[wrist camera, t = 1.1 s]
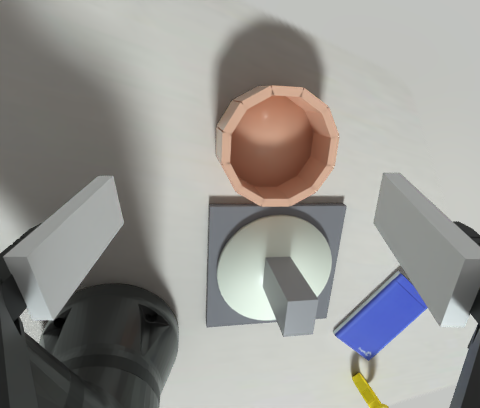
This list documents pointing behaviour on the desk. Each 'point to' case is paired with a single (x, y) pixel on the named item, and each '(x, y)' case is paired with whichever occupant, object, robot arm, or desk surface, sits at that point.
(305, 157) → the bowl
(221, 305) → the mat
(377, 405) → the yellow curved ring
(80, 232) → the robot arm
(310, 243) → the lid
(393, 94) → the desk surface
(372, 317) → the hard drive
